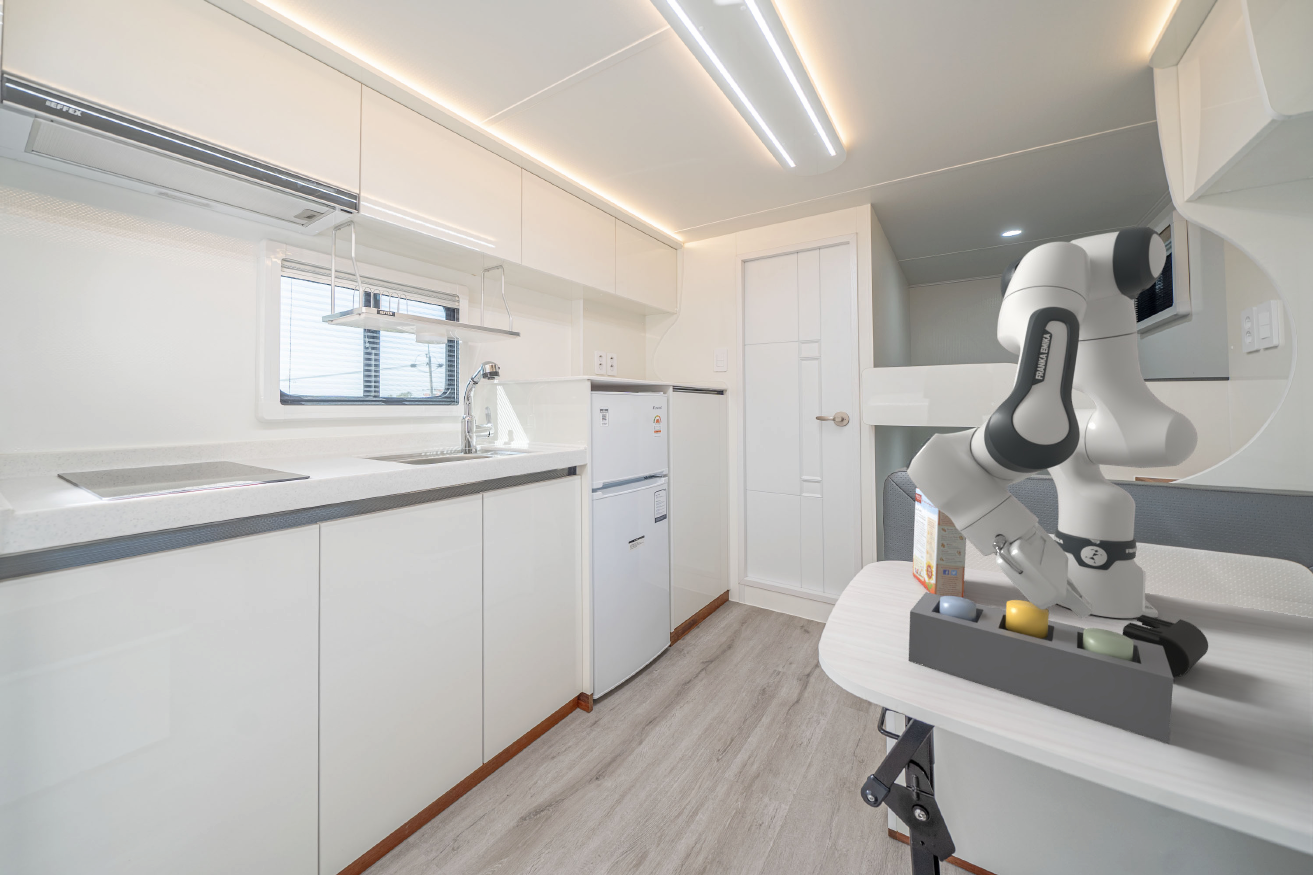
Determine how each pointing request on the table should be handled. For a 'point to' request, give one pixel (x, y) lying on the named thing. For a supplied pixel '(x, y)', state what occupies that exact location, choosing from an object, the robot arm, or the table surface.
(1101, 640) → the sage button
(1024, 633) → the amber button
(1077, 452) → the robot arm
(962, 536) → the cracker box
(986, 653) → the button console
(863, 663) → the table surface
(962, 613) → the slate button
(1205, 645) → the end cap
